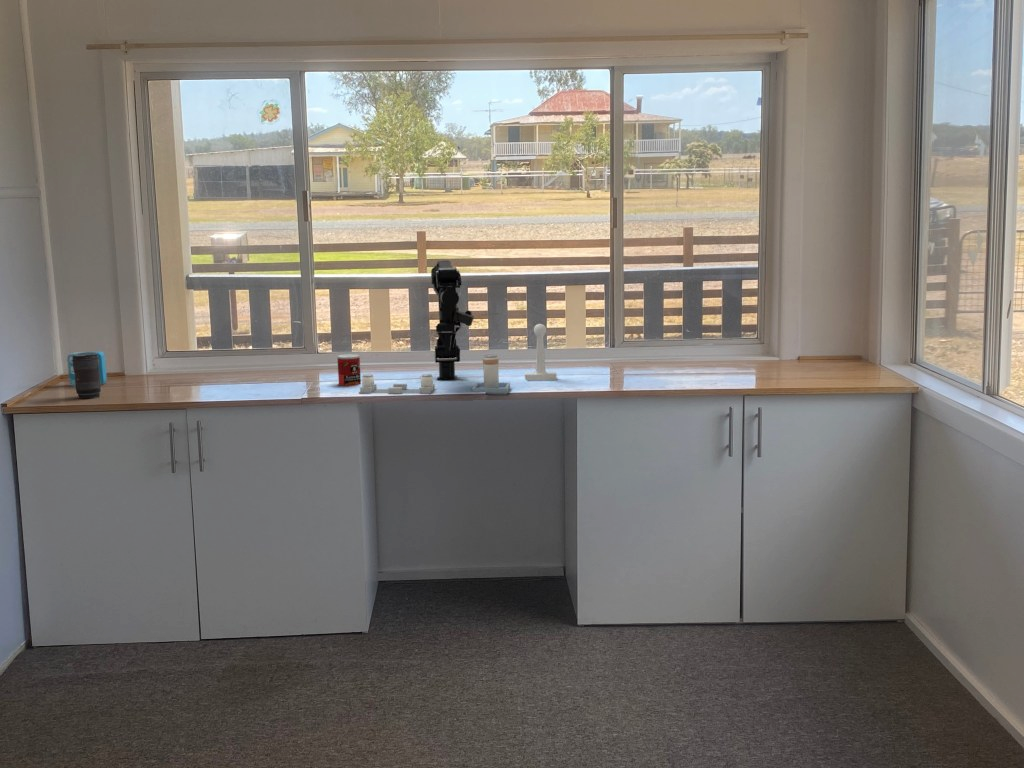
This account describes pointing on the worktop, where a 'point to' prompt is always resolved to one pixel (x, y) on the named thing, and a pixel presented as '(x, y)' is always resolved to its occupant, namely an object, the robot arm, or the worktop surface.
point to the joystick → (540, 358)
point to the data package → (101, 367)
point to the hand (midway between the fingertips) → (449, 349)
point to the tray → (492, 389)
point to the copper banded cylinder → (491, 371)
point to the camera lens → (87, 374)
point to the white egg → (368, 381)
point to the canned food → (349, 370)
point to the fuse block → (397, 389)
